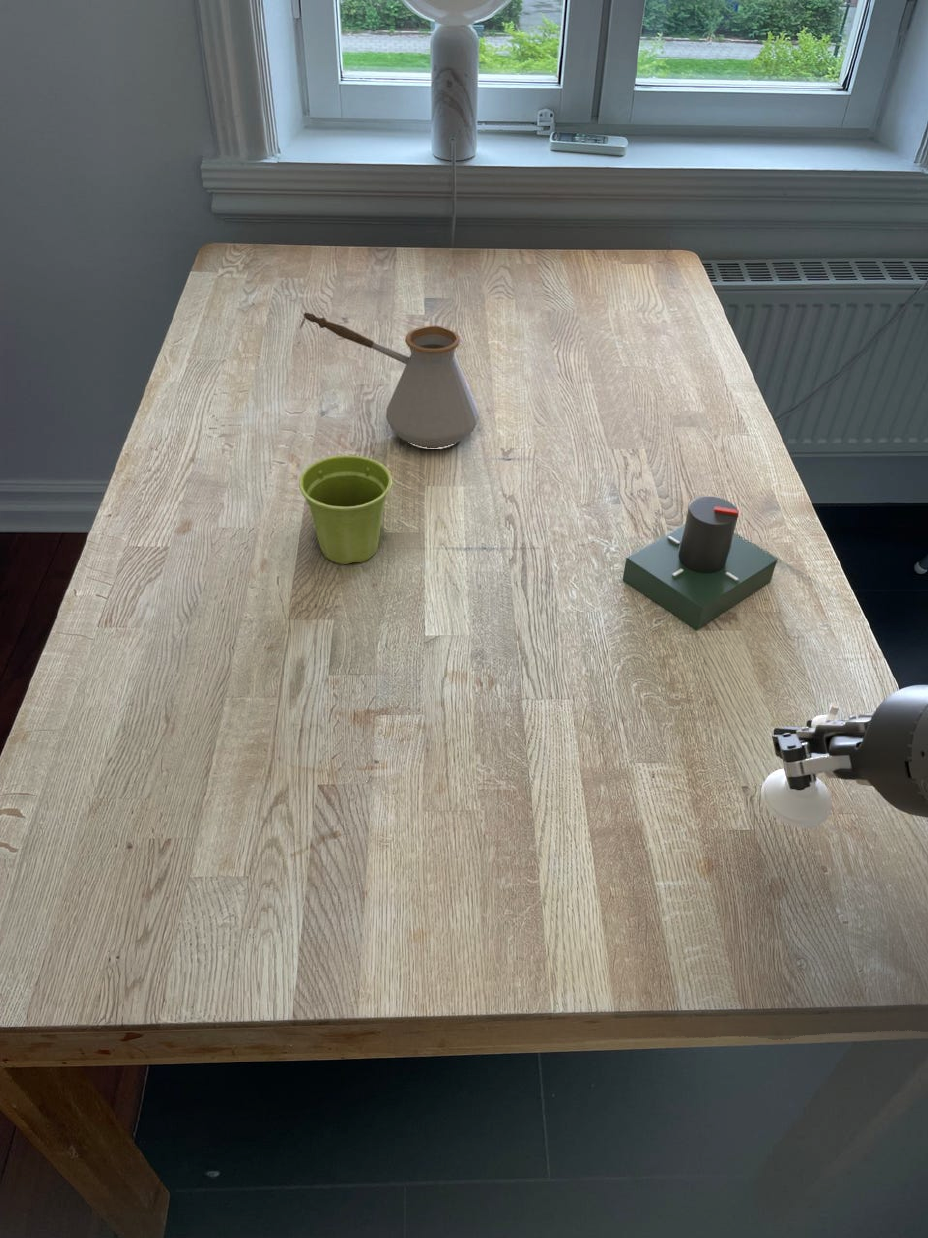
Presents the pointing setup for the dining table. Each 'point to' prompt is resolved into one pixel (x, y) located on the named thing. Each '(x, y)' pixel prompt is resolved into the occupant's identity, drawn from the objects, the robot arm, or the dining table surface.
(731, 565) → the panel
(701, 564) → the knob
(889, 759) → the robot arm
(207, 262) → the dining table surface
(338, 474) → the plant pot
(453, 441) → the coffee pot
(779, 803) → the chess piece
